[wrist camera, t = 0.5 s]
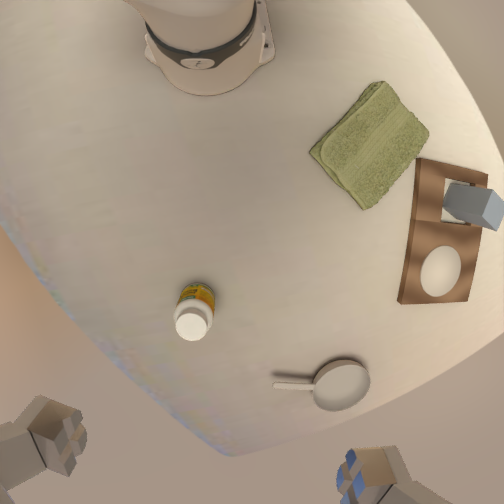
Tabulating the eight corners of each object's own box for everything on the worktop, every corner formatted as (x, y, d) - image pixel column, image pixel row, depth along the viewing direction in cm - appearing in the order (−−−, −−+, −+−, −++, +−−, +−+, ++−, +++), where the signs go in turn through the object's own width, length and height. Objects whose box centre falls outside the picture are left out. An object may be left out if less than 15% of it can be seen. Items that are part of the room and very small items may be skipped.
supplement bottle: (197, 320, 49) (190, 353, 40) (173, 296, 48) (161, 324, 39) (222, 300, 49) (221, 330, 39) (199, 274, 47) (191, 300, 38)
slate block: (440, 205, 47) (481, 216, 36) (450, 183, 46) (492, 189, 35) (456, 218, 48) (496, 231, 37) (465, 196, 47) (507, 205, 36)
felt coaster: (424, 243, 47) (426, 244, 46) (462, 246, 47) (464, 247, 47) (414, 295, 49) (416, 297, 48) (452, 294, 49) (454, 295, 49)
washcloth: (303, 154, 44) (308, 153, 41) (374, 77, 42) (383, 72, 38) (364, 214, 47) (372, 218, 44) (428, 137, 44) (438, 136, 41)
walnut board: (416, 158, 45) (421, 158, 43) (482, 173, 46) (488, 174, 44) (396, 300, 51) (401, 304, 49) (462, 298, 52) (467, 301, 50)
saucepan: (352, 400, 56) (358, 413, 52) (263, 395, 54) (265, 409, 50) (372, 356, 53) (380, 367, 50) (277, 346, 51) (280, 359, 48)
